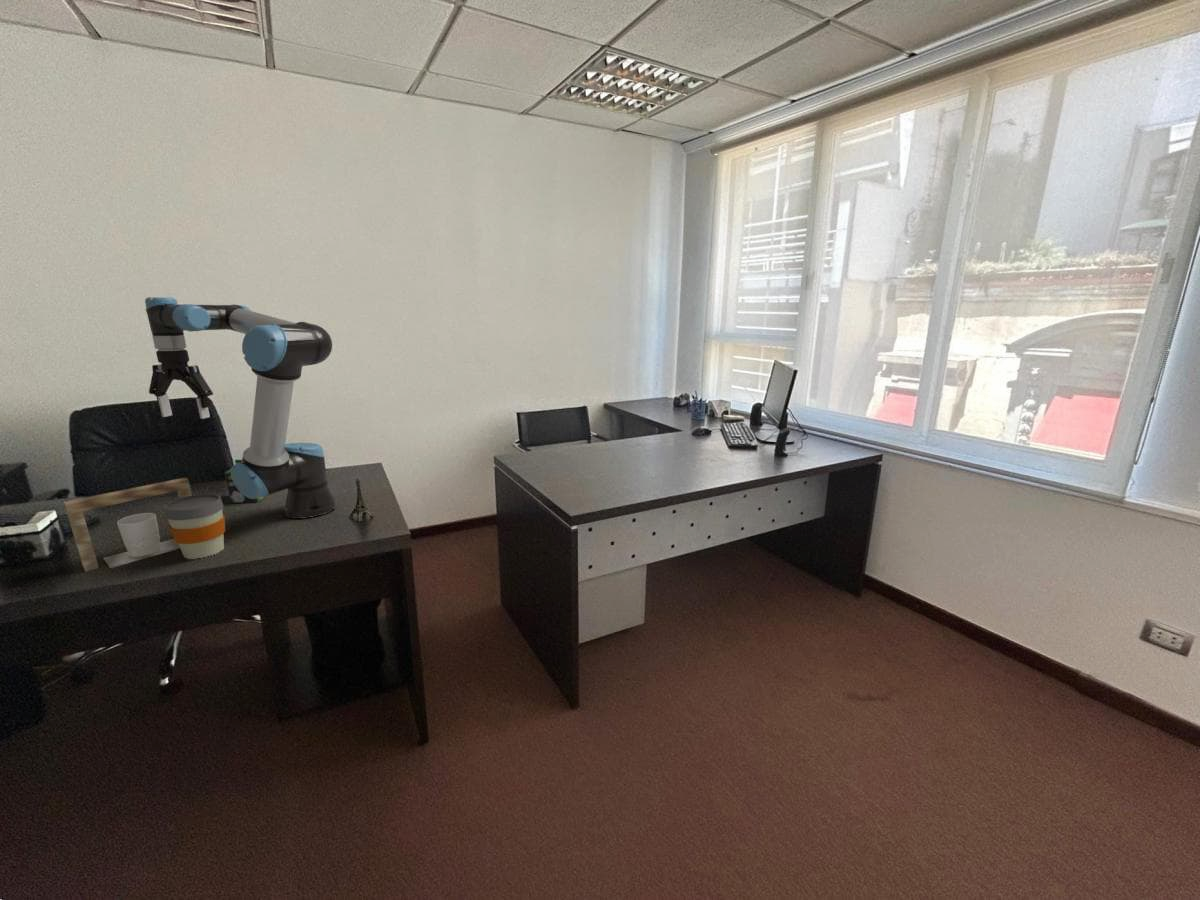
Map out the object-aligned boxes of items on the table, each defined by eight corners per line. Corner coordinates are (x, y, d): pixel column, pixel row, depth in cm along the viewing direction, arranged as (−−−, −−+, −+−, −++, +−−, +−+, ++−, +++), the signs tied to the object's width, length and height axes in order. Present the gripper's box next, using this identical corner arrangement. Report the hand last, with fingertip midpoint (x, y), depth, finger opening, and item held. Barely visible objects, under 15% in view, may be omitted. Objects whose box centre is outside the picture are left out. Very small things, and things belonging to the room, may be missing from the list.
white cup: (169, 548, 141) (161, 515, 138) (135, 561, 134) (126, 526, 131) (154, 542, 144) (146, 510, 141) (120, 554, 137) (110, 521, 134)
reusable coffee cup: (168, 566, 132) (155, 513, 128) (183, 545, 143) (172, 496, 139) (225, 557, 137) (214, 506, 133) (236, 538, 148) (227, 491, 144)
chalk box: (271, 493, 183) (264, 454, 179) (258, 502, 175) (250, 462, 171) (244, 494, 182) (236, 455, 178) (229, 503, 174) (221, 462, 169)
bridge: (195, 533, 151) (182, 475, 145) (204, 541, 146) (191, 481, 141) (81, 565, 132) (62, 499, 127) (87, 574, 127) (67, 507, 122)
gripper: (218, 349, 156) (231, 416, 162) (148, 347, 159) (163, 413, 165) (196, 351, 149) (210, 421, 155) (123, 349, 152) (140, 417, 158)
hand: (186, 417), depth 160 cm, fingers open, 13 cm apart
